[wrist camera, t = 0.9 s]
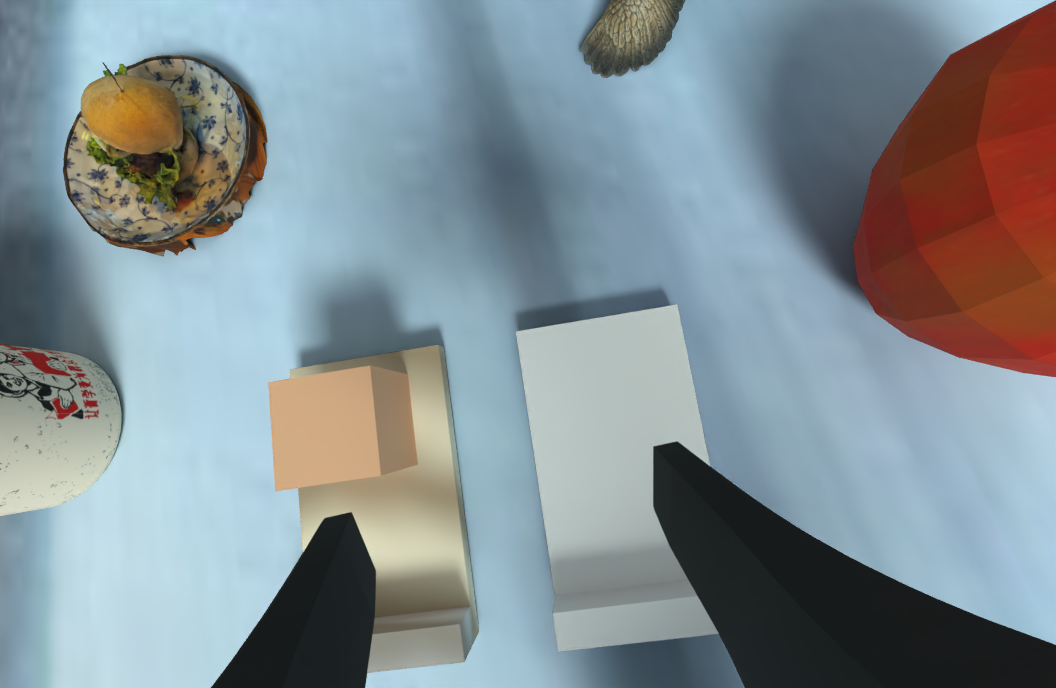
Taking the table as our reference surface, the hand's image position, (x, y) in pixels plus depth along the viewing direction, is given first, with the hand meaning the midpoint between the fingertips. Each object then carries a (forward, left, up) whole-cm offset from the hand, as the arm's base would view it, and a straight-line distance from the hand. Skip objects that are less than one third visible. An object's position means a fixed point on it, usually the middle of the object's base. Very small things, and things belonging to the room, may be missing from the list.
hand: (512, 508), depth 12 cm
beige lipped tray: (0, +9, -13) cm, 16 cm away
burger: (+21, +20, -14) cm, 31 cm away
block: (+3, +9, -12) cm, 15 cm away
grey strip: (0, -3, -13) cm, 14 cm away
